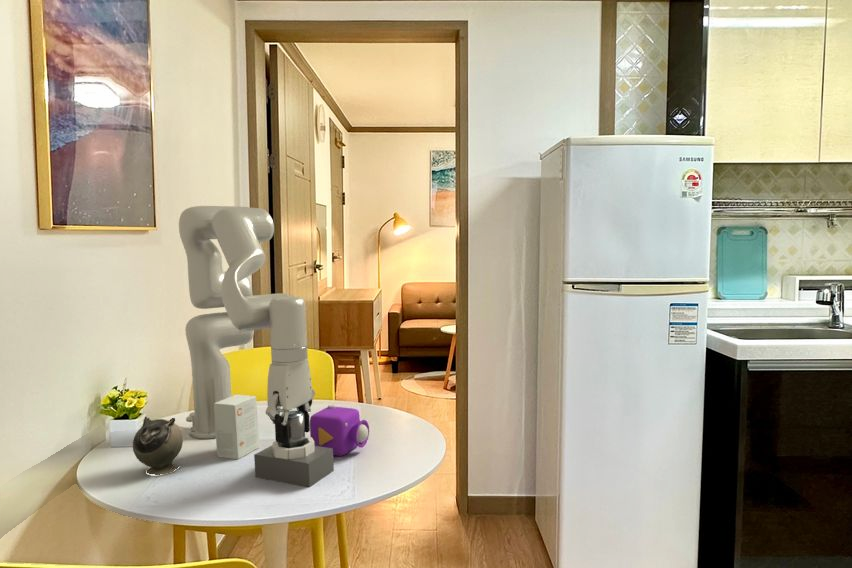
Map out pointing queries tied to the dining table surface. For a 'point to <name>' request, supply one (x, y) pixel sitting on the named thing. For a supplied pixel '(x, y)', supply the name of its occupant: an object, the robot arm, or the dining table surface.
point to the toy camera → (339, 429)
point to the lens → (295, 429)
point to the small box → (236, 426)
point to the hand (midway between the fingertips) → (293, 435)
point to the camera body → (294, 463)
